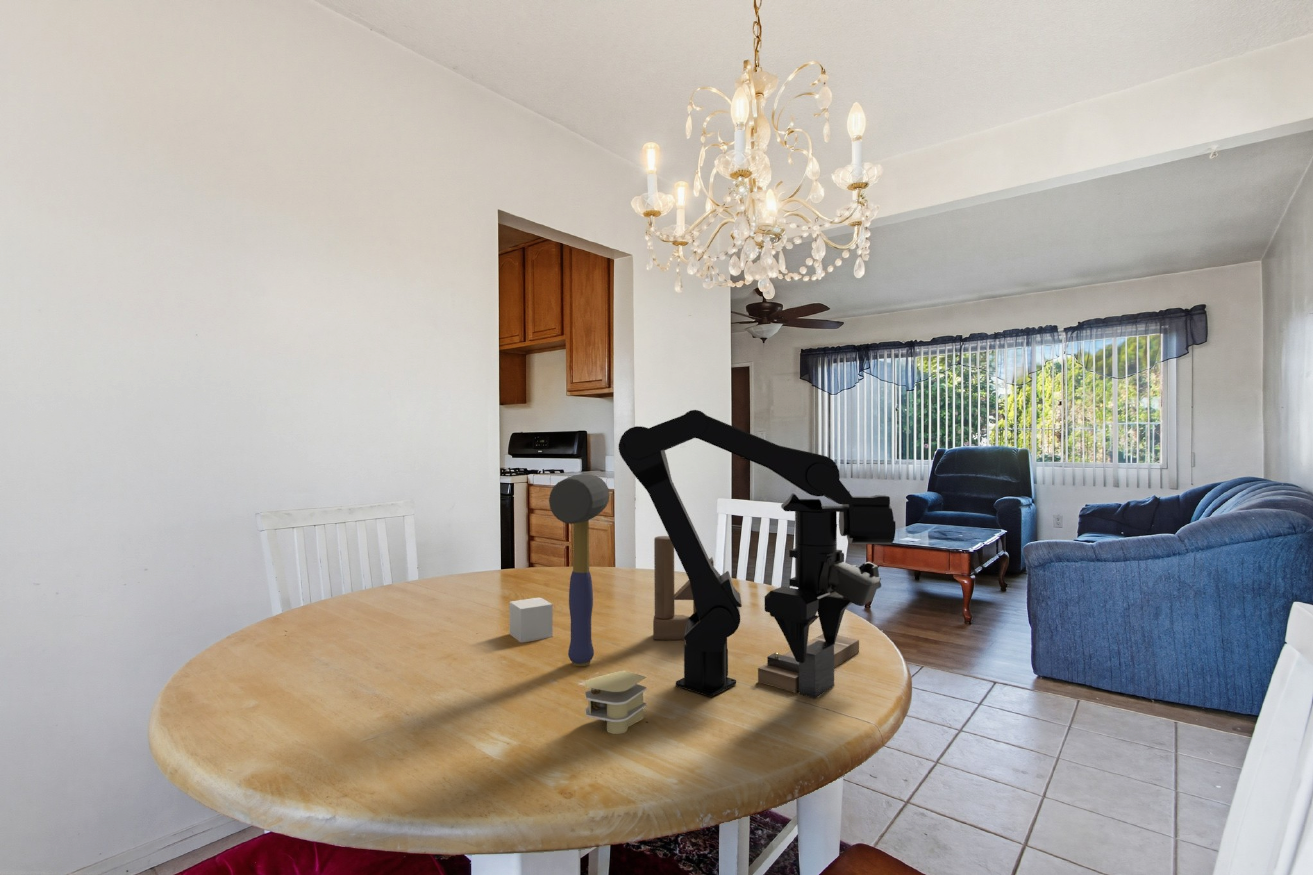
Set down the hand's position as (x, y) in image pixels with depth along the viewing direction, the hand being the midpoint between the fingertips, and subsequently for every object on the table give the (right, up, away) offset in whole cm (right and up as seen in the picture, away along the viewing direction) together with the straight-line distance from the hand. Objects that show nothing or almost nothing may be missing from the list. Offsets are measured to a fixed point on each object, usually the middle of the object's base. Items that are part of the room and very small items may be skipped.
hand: (815, 653), depth 86 cm
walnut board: (+2, -5, +9) cm, 11 cm away
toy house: (-28, -6, -10) cm, 30 cm away
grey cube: (-45, -6, +25) cm, 52 cm away
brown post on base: (-18, -6, +23) cm, 30 cm away
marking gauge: (-2, -5, +2) cm, 6 cm away
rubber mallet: (-34, -6, +10) cm, 36 cm away
